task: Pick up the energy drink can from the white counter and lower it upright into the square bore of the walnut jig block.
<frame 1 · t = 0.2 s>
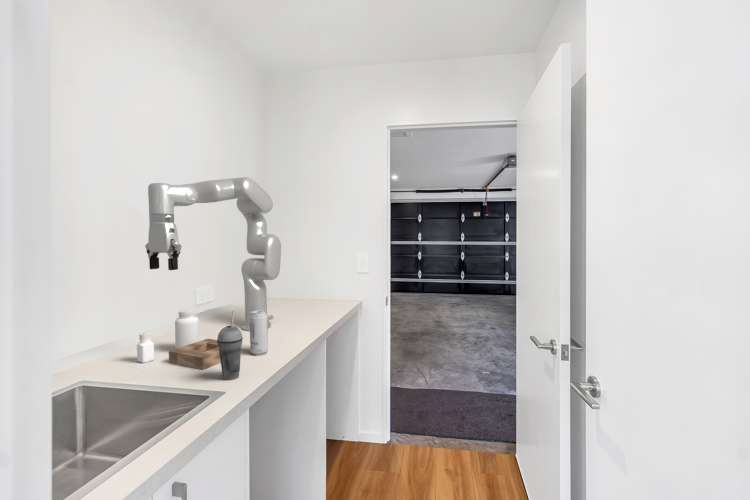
hand: (163, 269, 131), 31 cm above the worktop, tool pointing down, fingers open, 9 cm apart
pill bottle: (187, 350, 141), on the worktop
beverage cup: (231, 377, 114), on the worktop
pepper shaker: (146, 361, 130), on the worktop
jig: (205, 358, 131), on the worktop
energy drink can: (259, 353, 137), on the worktop
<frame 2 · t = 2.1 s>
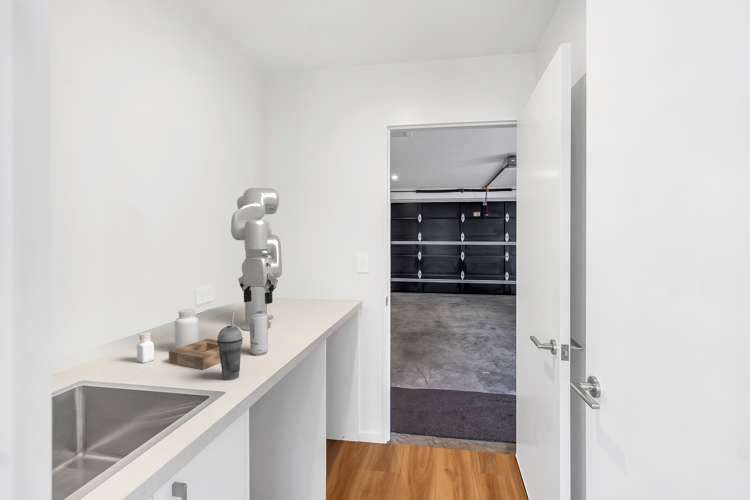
hand: (258, 302, 135), 18 cm above the worktop, tool pointing down, fingers open, 9 cm apart
nothing on the worktop moved.
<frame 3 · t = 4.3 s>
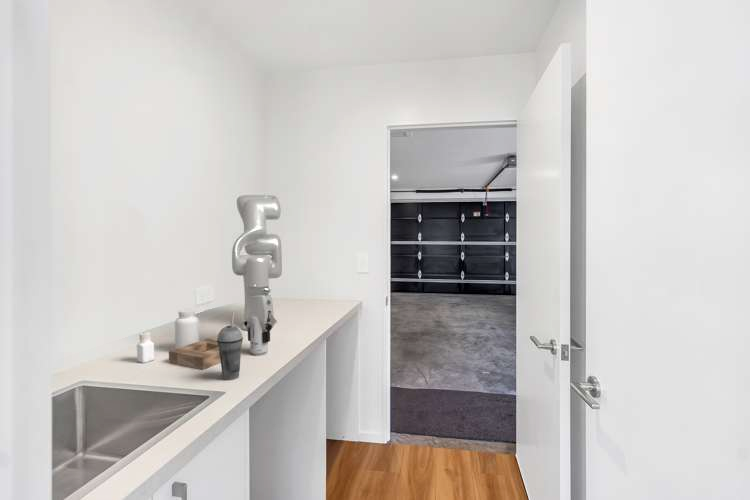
hand: (259, 340, 137), 5 cm above the worktop, tool pointing down, fingers closed on energy drink can, 6 cm apart
energy drink can: (259, 353, 137), on the worktop, touching gripper
everything else where it was.
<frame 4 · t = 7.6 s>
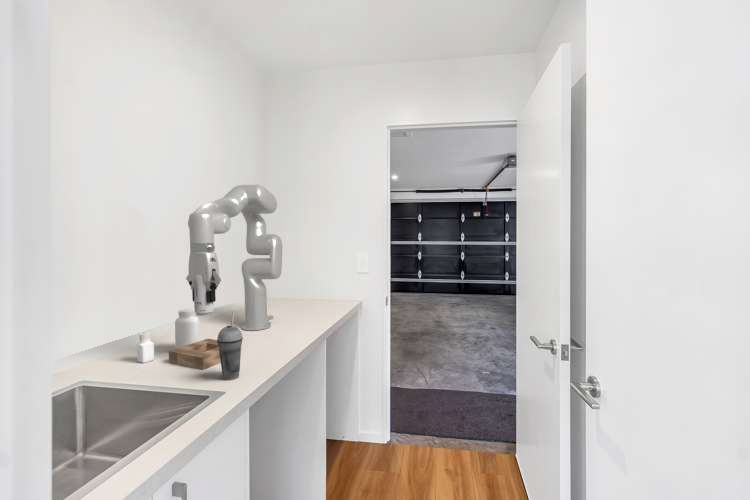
hand: (204, 300, 130), 20 cm above the worktop, tool pointing down, fingers closed on energy drink can, 6 cm apart
energy drink can: (204, 314, 131), point 15 cm above the worktop, touching gripper
everything else where it was.
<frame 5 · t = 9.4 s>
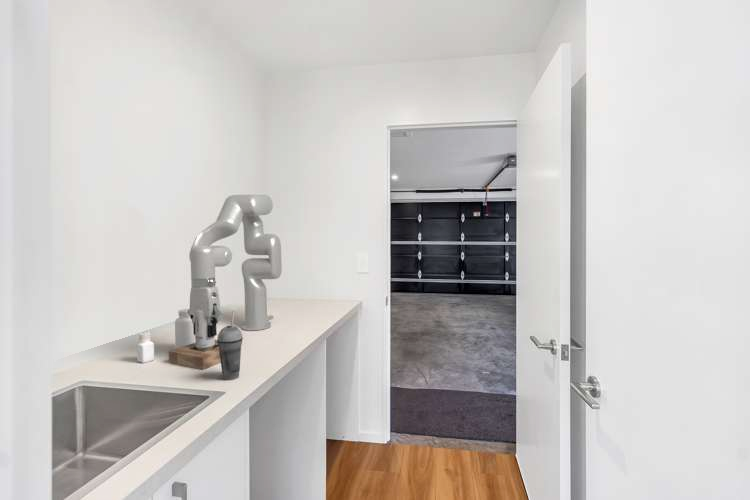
hand: (205, 334, 131), 8 cm above the worktop, tool pointing down, fingers closed on energy drink can, 6 cm apart
energy drink can: (205, 348, 131), point 4 cm above the worktop, touching gripper
everything else where it was.
when the fingers open (6 cm above the worktop, at t = 10.9 s): energy drink can drops 1 cm, resting in jig.
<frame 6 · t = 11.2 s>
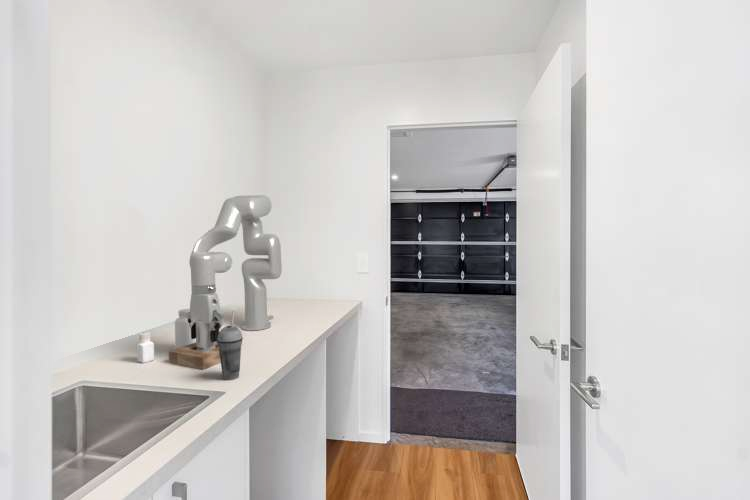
hand: (205, 339, 131), 7 cm above the worktop, tool pointing down, fingers open, 9 cm apart
energy drink can: (206, 359, 132), resting in jig
everything else where it was.
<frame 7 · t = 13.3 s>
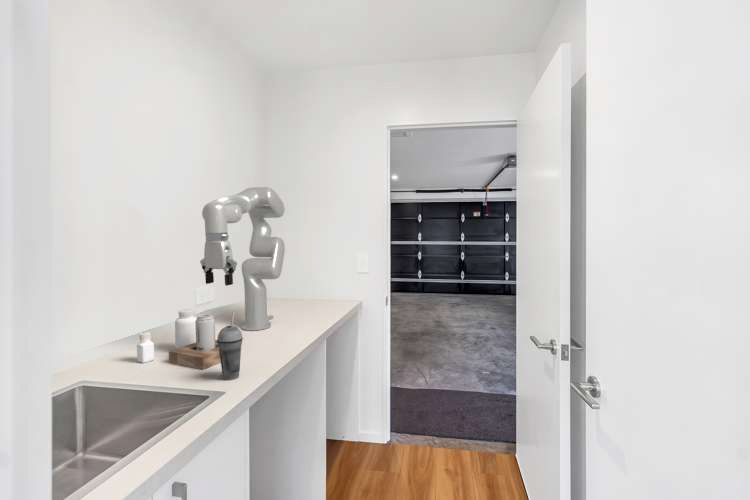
hand: (219, 284, 140), 24 cm above the worktop, tool pointing down, fingers open, 9 cm apart
nothing on the worktop moved.
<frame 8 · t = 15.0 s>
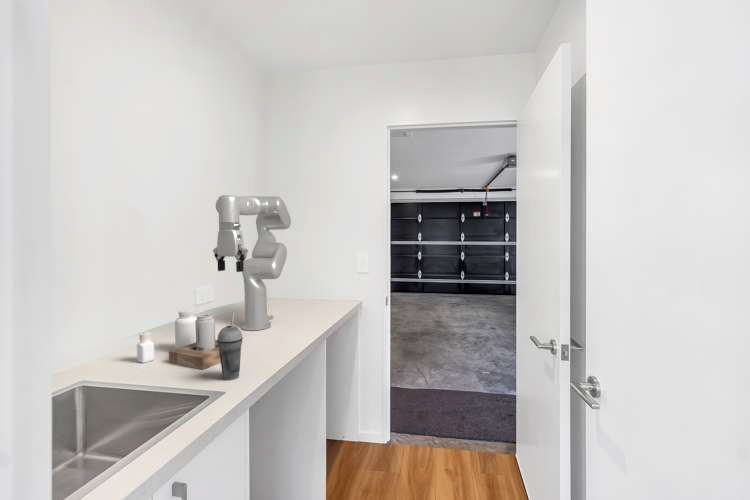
hand: (230, 271, 149), 28 cm above the worktop, tool pointing down, fingers open, 9 cm apart
nothing on the worktop moved.
at the end: energy drink can 0.2 cm off-centre on the jig, point 0.0 cm above the jig's base; energy drink can tilted 0°; the gripper is holding nothing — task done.
